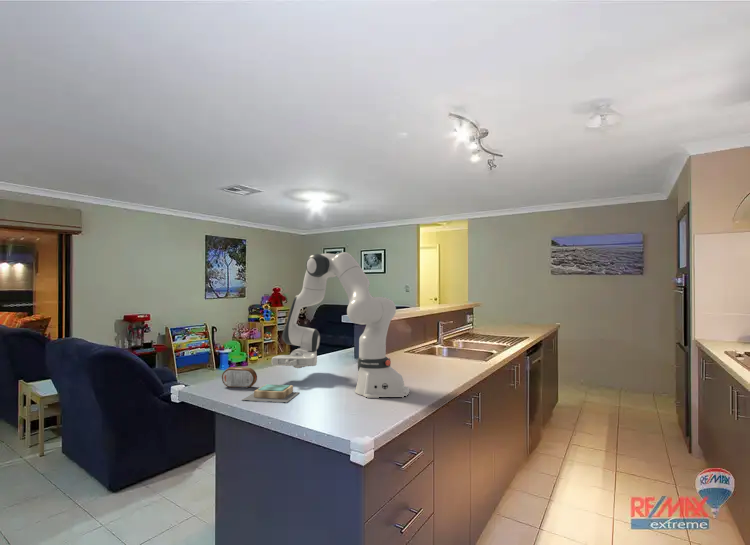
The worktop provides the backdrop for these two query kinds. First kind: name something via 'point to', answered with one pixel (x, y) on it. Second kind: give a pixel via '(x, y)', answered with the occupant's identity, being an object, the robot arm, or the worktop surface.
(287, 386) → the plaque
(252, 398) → the mat
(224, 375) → the bluetooth speaker
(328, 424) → the worktop surface
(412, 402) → the worktop surface
